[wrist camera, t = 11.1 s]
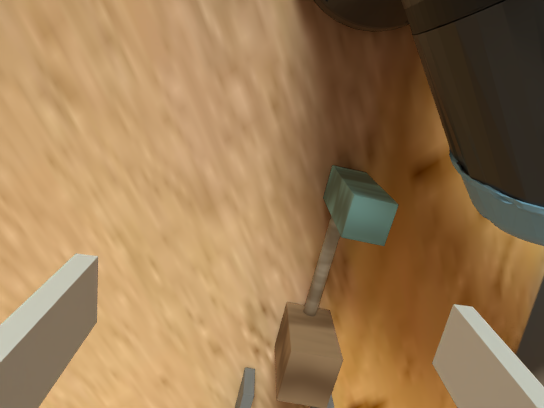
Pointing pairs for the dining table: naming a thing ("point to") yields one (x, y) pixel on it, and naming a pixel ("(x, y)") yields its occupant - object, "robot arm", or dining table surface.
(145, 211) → the dining table surface
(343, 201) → the tethered block
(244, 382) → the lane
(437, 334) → the dining table surface
